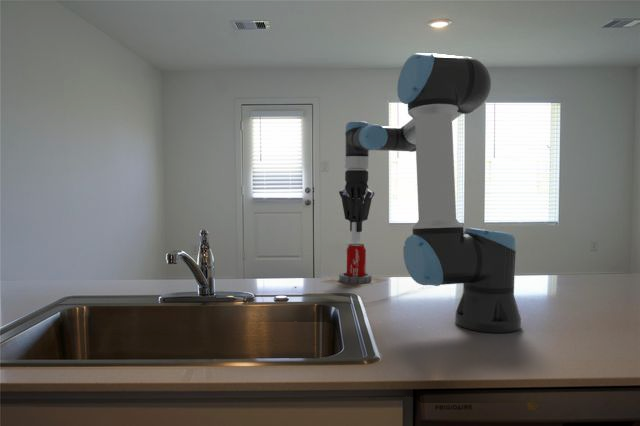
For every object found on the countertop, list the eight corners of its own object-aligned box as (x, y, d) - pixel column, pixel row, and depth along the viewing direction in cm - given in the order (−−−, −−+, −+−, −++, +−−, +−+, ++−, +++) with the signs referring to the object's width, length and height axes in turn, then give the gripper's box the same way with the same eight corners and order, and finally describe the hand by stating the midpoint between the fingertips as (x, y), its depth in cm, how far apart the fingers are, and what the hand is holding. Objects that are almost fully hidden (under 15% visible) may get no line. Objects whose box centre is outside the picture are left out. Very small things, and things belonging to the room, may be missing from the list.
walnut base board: (356, 292, 161) (356, 287, 161) (321, 286, 170) (321, 281, 170) (388, 283, 175) (388, 279, 175) (354, 278, 184) (354, 274, 184)
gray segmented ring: (358, 285, 165) (358, 278, 165) (333, 280, 172) (333, 274, 172) (377, 280, 173) (377, 274, 173) (352, 276, 180) (352, 270, 180)
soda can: (343, 279, 174) (343, 243, 173) (359, 278, 177) (360, 242, 176) (352, 283, 168) (352, 246, 167) (368, 281, 171) (369, 245, 170)
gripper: (379, 170, 169) (378, 242, 170) (347, 170, 177) (347, 239, 179) (366, 169, 163) (365, 244, 165) (334, 169, 172) (333, 241, 173)
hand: (355, 241), depth 172 cm, fingers closed
